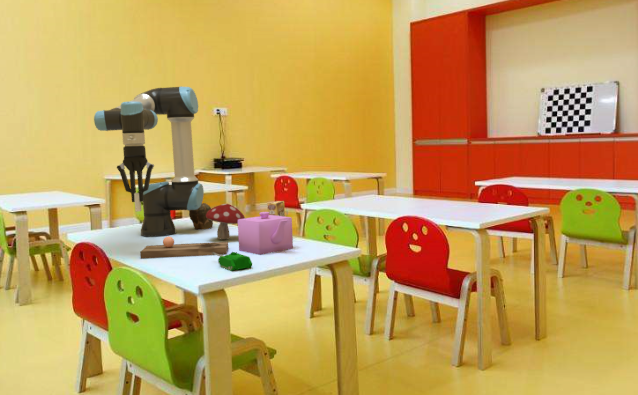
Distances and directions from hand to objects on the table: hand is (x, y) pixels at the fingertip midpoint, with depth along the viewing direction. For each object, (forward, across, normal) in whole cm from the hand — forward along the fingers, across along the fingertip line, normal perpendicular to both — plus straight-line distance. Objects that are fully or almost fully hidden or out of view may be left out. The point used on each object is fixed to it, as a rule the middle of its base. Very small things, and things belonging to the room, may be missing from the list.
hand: (138, 210), depth 208 cm
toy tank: (+17, +33, -25) cm, 45 cm away
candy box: (+17, +50, +21) cm, 57 cm away
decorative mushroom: (+17, +29, +26) cm, 42 cm away
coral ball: (+12, +10, 0) cm, 15 cm away
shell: (+17, +15, +63) cm, 67 cm away
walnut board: (+16, +16, 0) cm, 23 cm away
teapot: (+17, +46, -1) cm, 49 cm away
